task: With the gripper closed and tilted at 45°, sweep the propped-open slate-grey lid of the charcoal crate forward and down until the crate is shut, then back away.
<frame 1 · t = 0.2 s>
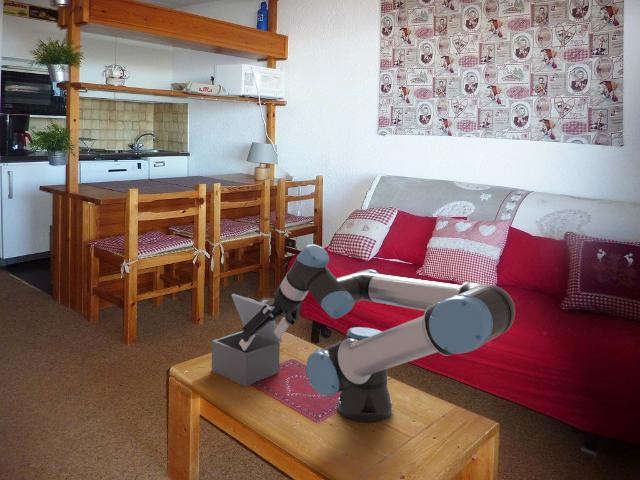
hand: (260, 340, 177), 16 cm above the table, tool tilted 35°, fingers open, 13 cm apart
coffee box: (267, 345, 217), on the table
crate: (245, 371, 194), on the table
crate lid: (256, 317, 194), point 17 cm above the table, hinge at 65.0°
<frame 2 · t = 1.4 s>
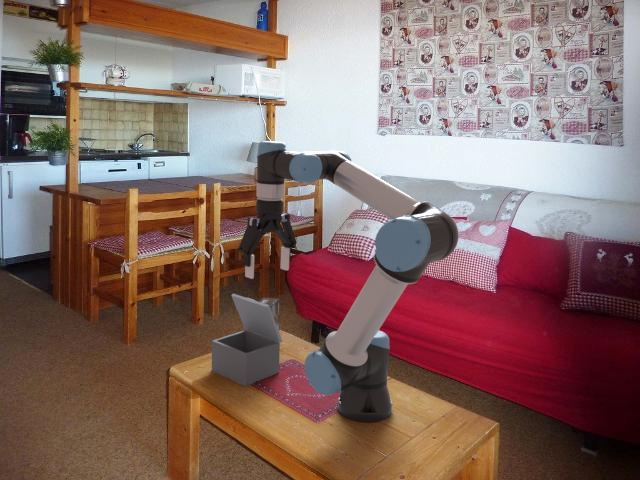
hand: (267, 273, 172), 36 cm above the table, tool pointing down, fingers open, 13 cm apart
nothing on the table moved.
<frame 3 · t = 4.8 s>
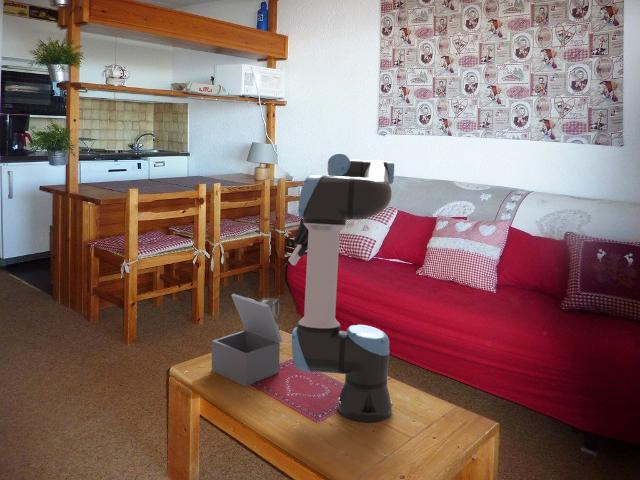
hand: (291, 262, 202), 32 cm above the table, tool tilted 45°, fingers closed
nothing on the table moved.
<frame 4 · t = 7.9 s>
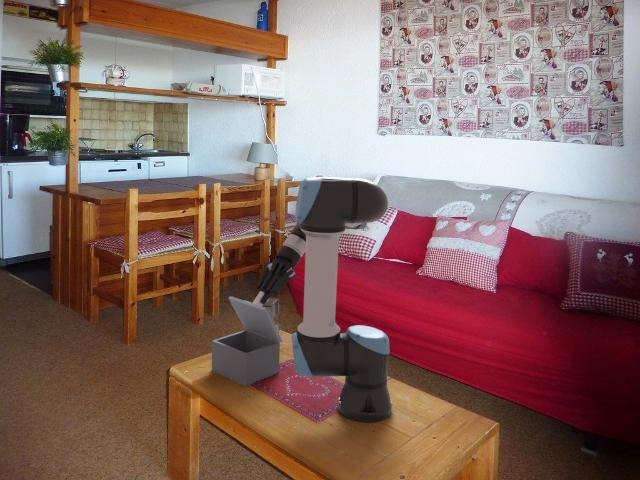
hand: (253, 310, 193), 19 cm above the table, tool tilted 45°, fingers closed
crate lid: (255, 319, 193), point 17 cm above the table, hinge at 59.3°, touching gripper
everything else where it was.
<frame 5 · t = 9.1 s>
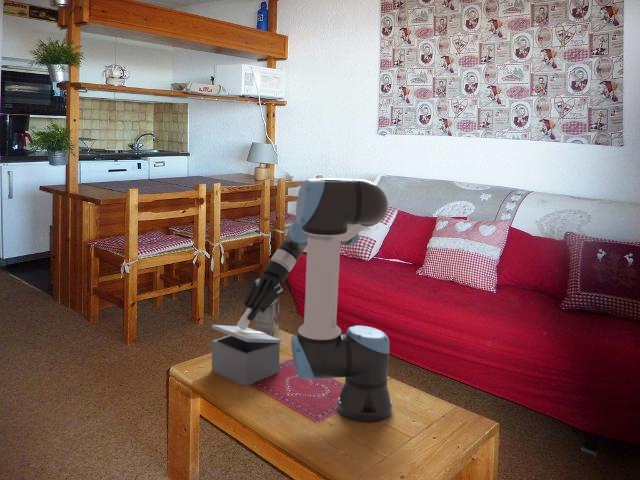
hand: (240, 327, 190), 15 cm above the table, tool tilted 45°, fingers closed
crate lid: (246, 333, 191), point 13 cm above the table, hinge at 16.0°, touching gripper
everything else where it was.
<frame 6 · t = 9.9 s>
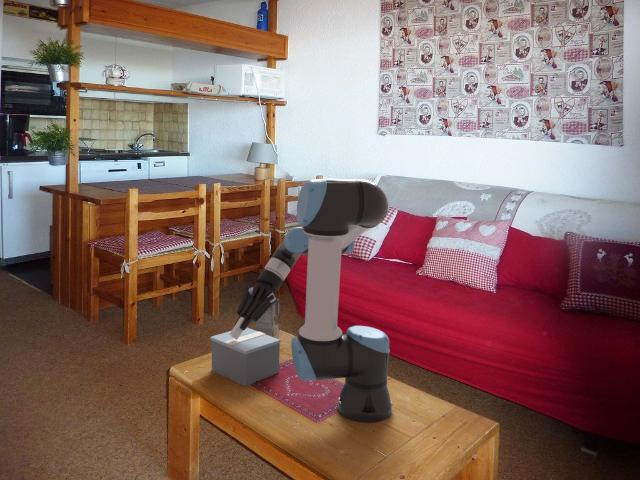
hand: (233, 337, 188), 13 cm above the table, tool tilted 45°, fingers closed
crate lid: (245, 339, 191), point 11 cm above the table, hinge at 0.7°, touching gripper
everything else where it was.
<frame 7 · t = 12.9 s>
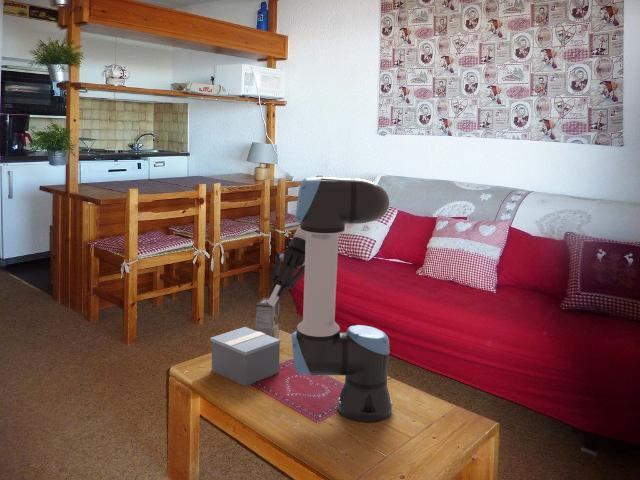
hand: (270, 304, 195), 21 cm above the table, tool tilted 40°, fingers closed
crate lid: (245, 340, 191), point 11 cm above the table, hinge at -0.4°, touching crate
everything else where it was.
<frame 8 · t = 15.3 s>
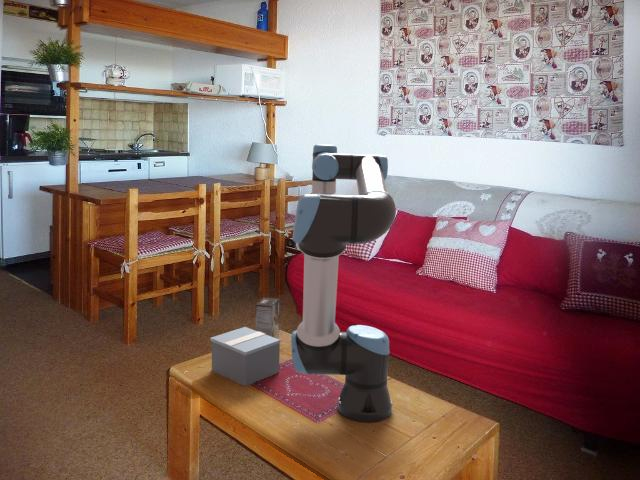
hand: (320, 266, 198), 32 cm above the table, tool pointing down, fingers closed
nothing on the table moved.
at the end: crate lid at +0° (first picture: +65°) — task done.
